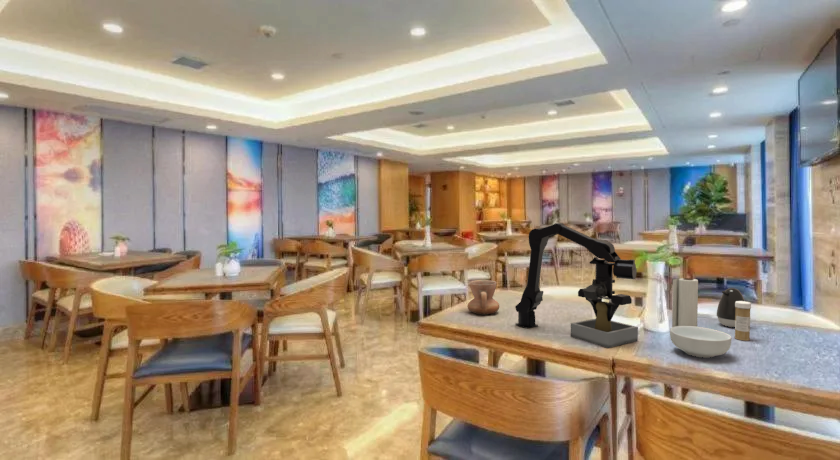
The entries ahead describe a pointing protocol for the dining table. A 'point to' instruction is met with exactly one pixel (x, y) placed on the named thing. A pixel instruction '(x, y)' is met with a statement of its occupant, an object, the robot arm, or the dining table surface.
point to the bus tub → (604, 333)
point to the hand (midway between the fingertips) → (603, 319)
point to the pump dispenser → (728, 306)
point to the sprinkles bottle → (742, 320)
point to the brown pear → (602, 317)
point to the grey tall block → (685, 302)
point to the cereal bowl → (700, 341)
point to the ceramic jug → (483, 297)
